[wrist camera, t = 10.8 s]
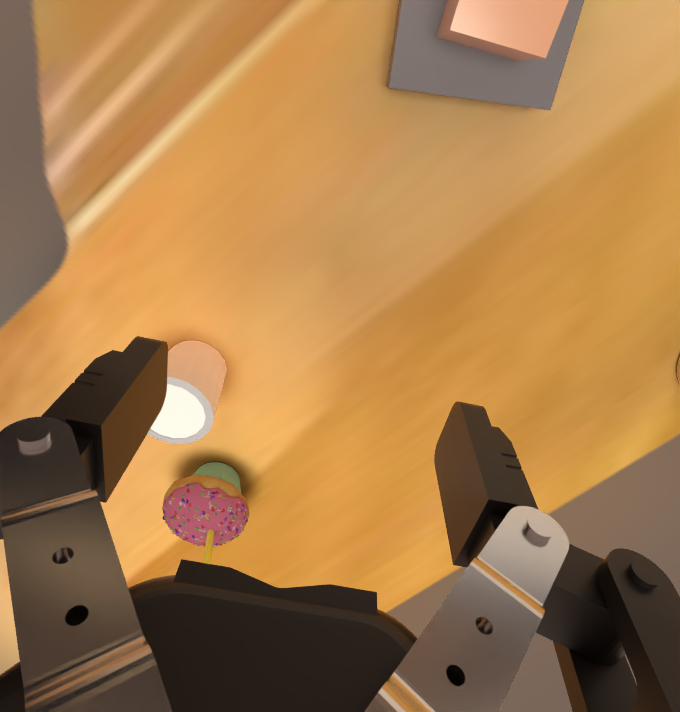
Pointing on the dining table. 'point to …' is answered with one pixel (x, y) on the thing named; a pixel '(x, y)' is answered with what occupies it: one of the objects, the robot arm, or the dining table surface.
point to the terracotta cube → (503, 26)
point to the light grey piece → (190, 393)
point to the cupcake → (207, 507)
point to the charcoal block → (472, 61)
